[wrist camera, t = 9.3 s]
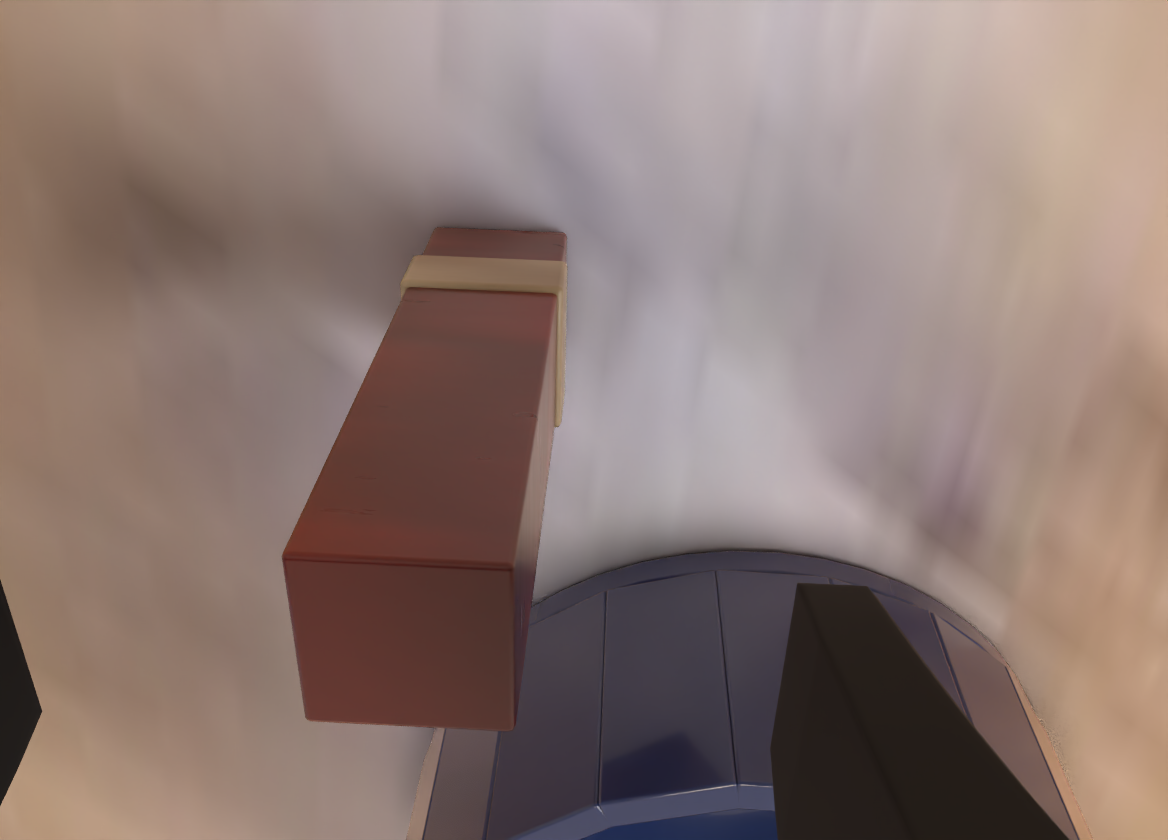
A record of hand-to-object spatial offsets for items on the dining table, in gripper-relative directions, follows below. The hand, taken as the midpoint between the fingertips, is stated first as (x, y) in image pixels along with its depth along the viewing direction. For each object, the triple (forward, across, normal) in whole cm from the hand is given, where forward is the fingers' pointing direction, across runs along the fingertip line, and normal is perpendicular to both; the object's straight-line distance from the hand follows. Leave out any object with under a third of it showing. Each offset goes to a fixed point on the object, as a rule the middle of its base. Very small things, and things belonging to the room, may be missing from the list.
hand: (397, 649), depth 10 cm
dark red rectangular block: (+8, 0, 0) cm, 8 cm away
